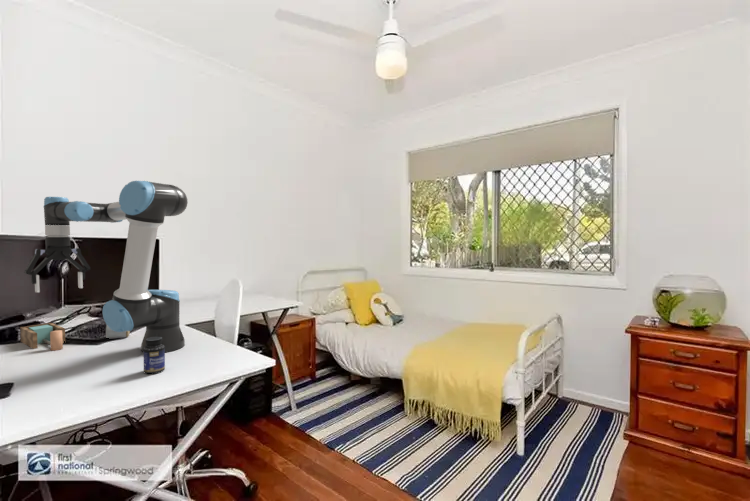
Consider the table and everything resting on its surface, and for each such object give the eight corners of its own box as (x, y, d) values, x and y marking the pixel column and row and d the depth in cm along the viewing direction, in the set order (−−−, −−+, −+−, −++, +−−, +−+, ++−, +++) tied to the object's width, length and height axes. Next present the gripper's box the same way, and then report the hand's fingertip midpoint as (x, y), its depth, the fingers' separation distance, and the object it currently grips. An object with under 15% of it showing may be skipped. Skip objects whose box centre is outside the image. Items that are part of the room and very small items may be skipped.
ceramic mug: (128, 338, 162) (128, 321, 161) (105, 341, 158) (105, 322, 157) (131, 333, 171) (131, 316, 171) (109, 335, 167) (109, 318, 167)
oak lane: (65, 342, 155) (64, 328, 155) (33, 348, 147) (33, 333, 146) (51, 336, 164) (50, 322, 163) (20, 341, 155) (20, 327, 155)
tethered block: (68, 348, 148) (67, 330, 148) (48, 352, 143) (48, 333, 143) (47, 338, 160) (47, 322, 160) (29, 341, 155) (28, 325, 155)
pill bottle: (149, 376, 121) (149, 342, 121) (139, 372, 125) (139, 339, 124) (168, 370, 127) (168, 337, 126) (158, 366, 130) (158, 334, 129)
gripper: (91, 236, 161) (93, 285, 162) (12, 236, 141) (14, 293, 142) (98, 236, 157) (100, 287, 158) (17, 236, 136) (20, 295, 137)
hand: (59, 290), depth 150 cm, fingers open, 13 cm apart
